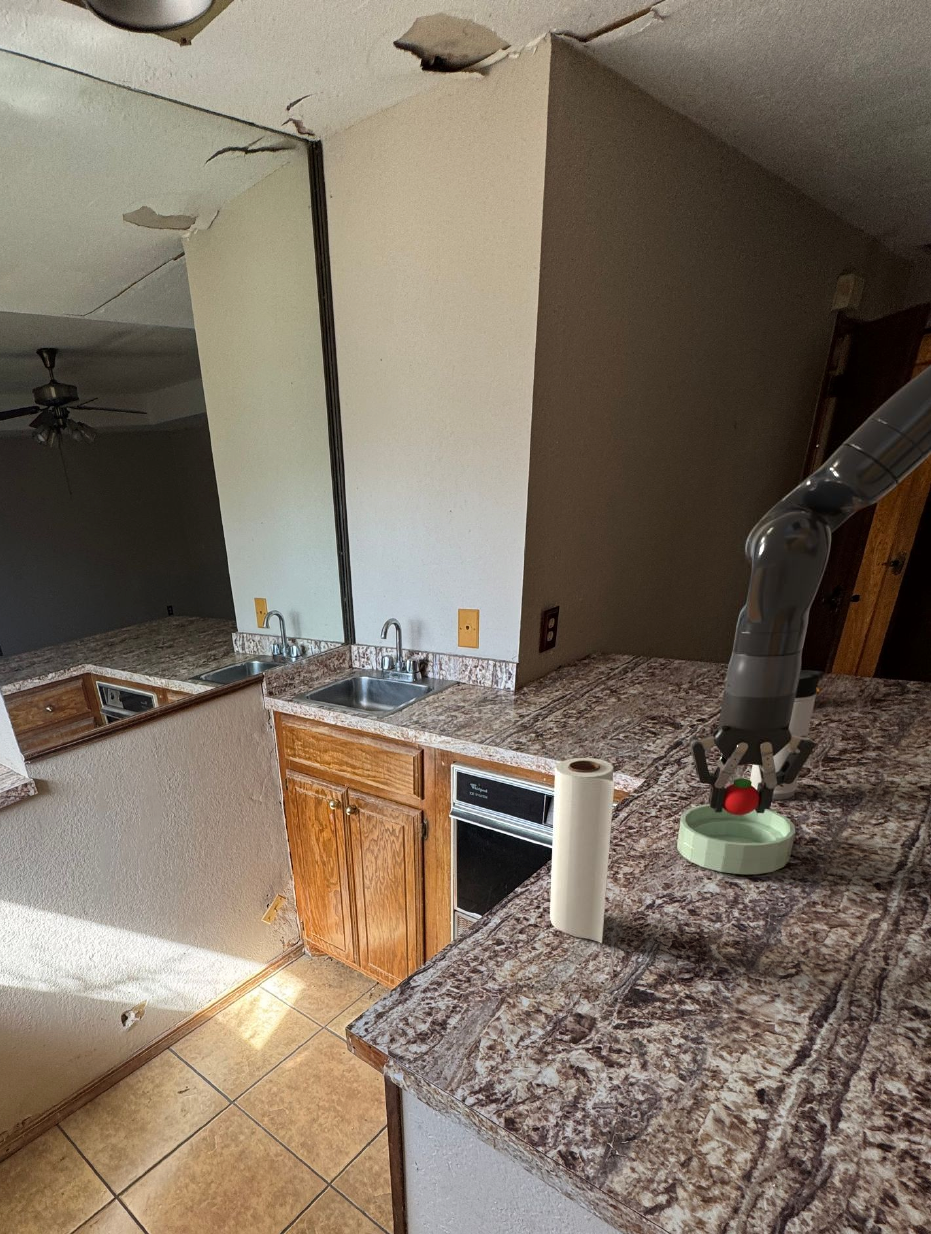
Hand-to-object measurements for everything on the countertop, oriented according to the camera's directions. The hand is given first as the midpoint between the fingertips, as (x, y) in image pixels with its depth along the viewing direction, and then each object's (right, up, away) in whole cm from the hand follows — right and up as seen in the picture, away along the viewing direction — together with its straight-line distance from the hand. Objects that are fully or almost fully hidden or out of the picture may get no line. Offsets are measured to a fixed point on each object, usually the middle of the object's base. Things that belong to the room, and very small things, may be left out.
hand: (737, 810), depth 88 cm
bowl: (+1, -6, +3) cm, 7 cm away
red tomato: (0, 0, 0) cm, 1 cm away
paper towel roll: (-25, -15, -6) cm, 30 cm away
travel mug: (+18, +3, +18) cm, 25 cm away
